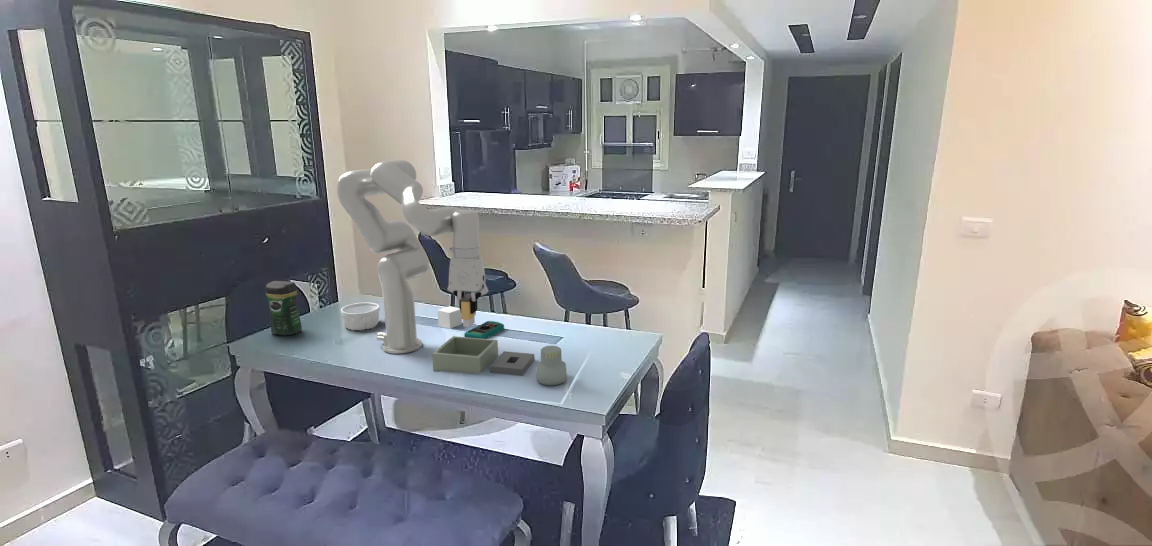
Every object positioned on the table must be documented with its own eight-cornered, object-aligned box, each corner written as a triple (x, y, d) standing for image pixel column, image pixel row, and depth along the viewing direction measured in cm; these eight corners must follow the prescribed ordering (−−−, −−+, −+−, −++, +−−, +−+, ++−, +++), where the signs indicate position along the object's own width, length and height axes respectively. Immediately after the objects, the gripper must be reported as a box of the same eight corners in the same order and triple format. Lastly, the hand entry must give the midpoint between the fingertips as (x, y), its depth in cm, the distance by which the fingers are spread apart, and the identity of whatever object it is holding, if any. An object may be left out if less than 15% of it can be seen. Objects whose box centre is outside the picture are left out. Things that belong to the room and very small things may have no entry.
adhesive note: (438, 325, 221) (437, 310, 220) (450, 321, 226) (449, 306, 224) (450, 329, 218) (449, 313, 216) (462, 324, 223) (461, 308, 221)
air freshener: (567, 389, 169) (566, 355, 167) (537, 390, 169) (536, 356, 166) (564, 373, 180) (564, 341, 177) (536, 374, 179) (536, 342, 177)
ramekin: (373, 332, 215) (372, 313, 213) (336, 332, 215) (334, 313, 213) (385, 320, 228) (384, 302, 226) (350, 319, 228) (348, 302, 226)
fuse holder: (490, 374, 179) (489, 366, 179) (503, 358, 191) (503, 351, 190) (522, 377, 177) (522, 369, 177) (534, 361, 189) (534, 353, 188)
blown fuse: (461, 327, 182) (460, 298, 180) (468, 321, 187) (467, 293, 184) (469, 327, 181) (468, 299, 179) (476, 322, 186) (475, 294, 184)
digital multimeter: (505, 330, 218) (505, 322, 217) (481, 343, 205) (481, 335, 204) (488, 327, 221) (488, 319, 220) (463, 340, 208) (463, 332, 207)
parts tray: (433, 370, 182) (432, 353, 180) (454, 352, 196) (453, 336, 195) (480, 375, 179) (479, 357, 177) (498, 356, 193) (497, 339, 191)
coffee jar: (306, 329, 217) (300, 279, 213) (290, 337, 210) (284, 285, 205) (283, 327, 220) (276, 277, 215) (267, 334, 212) (260, 283, 208)
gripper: (435, 253, 176) (438, 313, 181) (488, 257, 173) (489, 318, 178) (446, 248, 183) (448, 306, 188) (497, 251, 180) (498, 310, 185)
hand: (468, 311), depth 183 cm, fingers closed on blown fuse, 2 cm apart
